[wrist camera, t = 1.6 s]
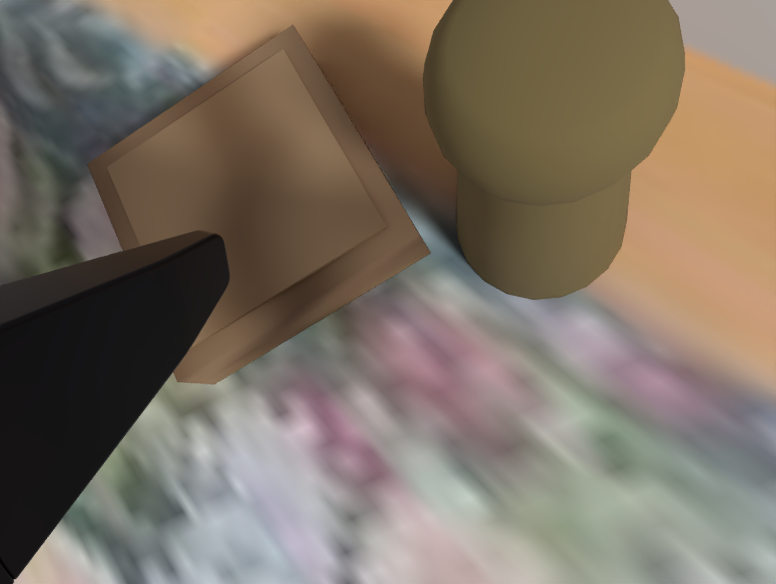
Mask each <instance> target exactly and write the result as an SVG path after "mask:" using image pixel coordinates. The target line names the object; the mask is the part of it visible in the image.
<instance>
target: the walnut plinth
mask: <svg viewBox="0 0 776 584" xmlns="http://www.w3.org/2000/svg"><path fill="white" fill-rule="evenodd" d="M87 165H88V167H89V170H90V172H91V175H92V177H93V179H94V182H95V184H96V187H97V189H98V192H99V194H100V196H101V199H102V201H103V204H104V206H105V208H106V211H107V213H108V216H109V218H110V221H111V223H112V225H113V228H114V230H115V233H116V235H117V237H118V240H119V242H120V245H121V247H122V249H123V251H125V250H128V249H132V248H135V247H139V246H142V245H146V244H149V243H153V242H157V241H160V240H164V239H167V238H171V237H174V236H178V235H181V234H185V233H188V232H192V231H195V230H203V231H208V232H212V233H217V234H219V235H220V236H221V237H222V238H223V240H224V243H225V249H226V254H227V260H228V265H229V271H230V280H229V284H228V286H227V288H226V290H225V292H224V293H223V295H222V297H221V298H220V300H219V302H218V303H217V305H216V307H215V308H214V310H213V312H212V313H211V315H210V317H209V318H208V320H207V322H206V323H205V325H204V327H203V328H202V330H201V332H200V333H199V335H198V337H197V338H196V340H195V342H194V343H193V345H192V346H191V348H190V349H189V351H188V353H187V354H186V355H185V357H184V358H183V360H182V361H181V362H180V364H179V365H178V366H177V368H176V369H175V370H174V372H173V373H174V375H175V377H176V380H177V382H186V383H201V384H216V383H217V382H219V381H221V380H222V379H224V378H226V377H227V376H229V375H231V374H232V373H234V372H236V371H237V370H239V369H241V368H242V367H244V366H246V365H247V364H249V363H250V362H252V361H254V360H255V359H257V358H259V357H260V356H262V355H264V354H265V353H267V352H269V351H270V350H272V349H274V348H275V347H277V346H278V345H280V344H282V343H283V342H285V341H287V340H288V339H290V338H292V337H293V336H295V335H297V334H298V333H300V332H302V331H303V330H305V329H307V328H308V327H310V326H311V325H313V324H315V323H316V322H318V321H320V320H321V319H323V318H325V317H326V316H328V315H330V314H331V313H333V312H335V311H336V310H338V309H340V308H341V307H343V306H344V305H346V304H348V303H349V302H351V301H353V300H354V299H356V298H358V297H359V296H361V295H363V294H364V293H366V292H368V291H369V290H371V289H373V288H374V287H376V286H377V285H379V284H381V283H382V282H384V281H386V280H387V279H389V278H391V277H392V276H394V275H396V274H397V273H399V272H401V271H402V270H404V269H405V268H407V267H409V266H410V265H412V264H414V263H415V262H417V261H419V260H420V259H422V258H424V257H425V256H427V255H429V254H430V253H431V252H430V251H429V249H428V247H427V246H426V244H425V242H424V241H423V239H422V237H421V236H420V234H419V232H418V231H417V229H416V227H415V226H414V224H413V222H412V221H411V219H410V217H409V216H408V214H407V212H406V211H405V209H404V207H403V206H402V204H401V202H400V201H399V199H398V197H397V196H396V194H395V192H394V191H393V189H392V187H391V186H390V184H389V182H388V181H387V179H386V177H385V176H384V174H383V172H382V171H381V169H380V167H379V166H378V164H377V162H376V161H375V159H374V157H373V156H372V154H371V152H370V151H369V149H368V147H367V146H366V144H365V142H364V141H363V139H362V137H361V136H360V134H359V132H358V131H357V129H356V127H355V126H354V124H353V122H352V121H351V119H350V117H349V116H348V114H347V112H346V111H345V109H344V107H343V106H342V104H341V102H340V101H339V99H338V97H337V96H336V94H335V92H334V91H333V89H332V87H331V86H330V84H329V82H328V81H327V79H326V77H325V76H324V74H323V72H322V71H321V69H320V67H319V66H318V64H317V62H316V61H315V59H314V58H313V56H312V54H311V53H310V51H309V49H308V48H307V46H306V45H305V43H304V41H303V40H302V38H301V37H300V35H299V33H298V32H297V30H296V28H295V27H294V25H292V26H290V27H289V28H287V29H286V30H284V31H283V32H282V33H280V34H279V35H277V36H276V37H274V38H273V39H271V40H270V41H268V42H267V43H265V44H264V45H262V46H261V47H259V48H258V49H256V50H255V51H253V52H252V53H250V54H249V55H248V56H246V57H245V58H243V59H242V60H240V61H239V62H237V63H236V64H234V65H233V66H231V67H230V68H228V69H227V70H225V71H224V72H222V73H221V74H219V75H218V76H216V77H215V78H214V79H212V80H211V81H209V82H208V83H206V84H205V85H203V86H202V87H200V88H199V89H197V90H196V91H194V92H193V93H191V94H190V95H188V96H187V97H185V98H184V99H182V100H181V101H180V102H178V103H177V104H175V105H174V106H172V107H171V108H169V109H168V110H166V111H165V112H163V113H162V114H160V115H159V116H157V117H156V118H154V119H153V120H151V121H150V122H148V123H147V124H146V125H144V126H143V127H141V128H140V129H138V130H137V131H135V132H134V133H132V134H131V135H129V136H128V137H126V138H125V139H123V140H122V141H120V142H119V143H117V144H116V145H114V146H113V147H112V148H110V149H109V150H107V151H106V152H104V153H103V154H101V155H100V156H98V157H97V158H95V159H94V160H92V161H91V162H89V163H88V164H87Z"/></svg>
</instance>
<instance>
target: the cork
mask: <svg viewBox="0 0 776 584" xmlns="http://www.w3.org/2000/svg"><path fill="white" fill-rule="evenodd" d="M684 71H685V51H684V46H683V40H682V34H681V29H680V23H679V17H678V15H677V14H676V12H675V11H674V9H673V7H672V6H671V4H670V3H669V1H668V0H453V1H452V3H451V4H450V6H449V7H448V9H447V10H446V12H445V14H444V15H443V17H442V18H441V20H440V21H439V23H438V25H437V26H436V28H435V29H434V31H433V35H432V38H431V42H430V46H429V49H428V53H427V57H426V61H425V64H424V74H423V87H424V102H425V113H426V116H427V119H428V121H429V124H430V126H431V129H432V131H433V133H434V135H435V138H436V140H437V142H438V144H439V146H440V149H441V151H442V153H443V155H444V157H445V158H446V159H447V160H448V161H449V162H450V163H451V164H452V165H453V166H454V167H455V168H456V169H457V202H456V222H457V235H458V242H459V244H460V246H461V249H462V251H463V253H464V256H465V258H466V260H467V262H468V264H469V265H470V266H471V267H472V268H473V269H474V270H475V271H476V273H477V274H478V275H479V276H480V277H481V278H482V279H483V280H484V281H485V282H487V283H488V284H490V285H492V286H494V287H495V288H497V289H499V290H501V291H502V292H504V293H506V294H509V295H514V296H518V297H523V298H528V299H532V300H536V299H547V298H558V297H563V296H565V295H568V294H570V293H573V292H575V291H577V290H580V289H582V288H585V287H587V286H588V285H589V284H590V283H592V282H593V281H594V280H595V279H596V278H598V277H599V276H600V275H601V274H602V273H604V272H605V271H606V270H607V269H608V268H609V266H610V264H611V263H612V261H613V259H614V258H615V256H616V254H617V253H618V251H619V250H620V248H621V246H622V241H623V237H624V232H625V227H626V223H627V214H628V203H629V191H630V180H631V170H632V169H634V168H635V167H636V166H637V165H638V164H639V163H641V162H642V161H643V160H644V159H645V158H646V157H648V156H649V154H650V153H651V151H652V150H653V148H654V146H655V145H656V143H657V141H658V140H659V138H660V136H661V135H662V133H663V132H664V130H665V128H666V127H667V125H668V123H669V122H670V120H671V118H672V116H673V114H674V112H675V111H676V109H677V105H678V101H679V96H680V91H681V86H682V81H683V76H684Z"/></svg>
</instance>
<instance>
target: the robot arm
mask: <svg viewBox="0 0 776 584" xmlns="http://www.w3.org/2000/svg"><path fill="white" fill-rule="evenodd" d="M229 280H230V271H229V265H228V260H227V254H226V249H225V243H224V240H223V238H222V237H221V236H220V235H219V234H217V233H212V232H208V231H203V230H195V231H192V232H188V233H185V234H181V235H178V236H174V237H171V238H167V239H164V240H160V241H157V242H153V243H149V244H146V245H142V246H139V247H135V248H132V249H128V250H125V251H121V252H118V253H114V254H110V255H107V256H103V257H100V258H96V259H93V260H89V261H86V262H82V263H79V264H75V265H72V266H68V267H64V268H61V269H57V270H54V271H50V272H47V273H43V274H40V275H36V276H33V277H29V278H25V279H22V280H18V281H15V282H11V283H8V284H4V285H1V286H0V584H13V583H14V580H13V579H16V578H17V577H18V576H19V575H20V573H21V572H22V571H23V570H24V568H25V567H26V566H27V564H28V563H29V562H30V560H31V559H32V558H33V556H34V555H35V554H36V552H37V551H38V550H39V548H40V547H41V546H42V544H43V543H44V542H45V540H46V539H47V538H48V537H49V535H50V534H51V533H52V531H53V530H54V529H55V527H56V526H57V525H58V523H59V522H60V521H61V519H62V518H63V517H64V515H65V514H66V513H67V511H68V510H69V509H70V507H71V506H72V505H73V504H74V502H75V501H76V500H77V498H78V497H79V496H80V494H81V493H82V492H83V490H84V489H85V488H86V486H87V485H88V484H89V482H90V481H91V480H92V478H93V477H94V476H95V475H96V473H97V472H98V471H99V469H100V468H101V467H102V465H103V464H104V463H105V461H106V460H107V459H108V457H109V456H110V455H111V453H112V452H113V451H114V449H115V448H116V447H117V445H118V444H119V443H120V442H121V440H122V439H123V438H124V436H125V435H126V434H127V432H128V431H129V430H130V428H131V427H132V426H133V424H134V423H135V422H136V420H137V419H138V418H139V416H140V415H141V414H142V413H143V411H144V410H145V409H146V407H147V406H148V405H149V403H150V402H151V401H152V399H153V398H154V397H155V395H156V394H157V393H158V391H159V390H160V389H161V387H162V386H163V385H164V383H165V382H166V381H167V380H168V378H169V377H170V376H171V374H172V373H173V372H174V370H175V369H176V368H177V366H178V365H179V364H180V362H181V361H182V360H183V358H184V357H185V355H186V354H187V353H188V351H189V349H190V348H191V346H192V345H193V343H194V342H195V340H196V338H197V337H198V335H199V333H200V332H201V330H202V328H203V327H204V325H205V323H206V322H207V320H208V318H209V317H210V315H211V313H212V312H213V310H214V308H215V307H216V305H217V303H218V302H219V300H220V298H221V297H222V295H223V293H224V292H225V290H226V288H227V286H228V284H229Z"/></svg>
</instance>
